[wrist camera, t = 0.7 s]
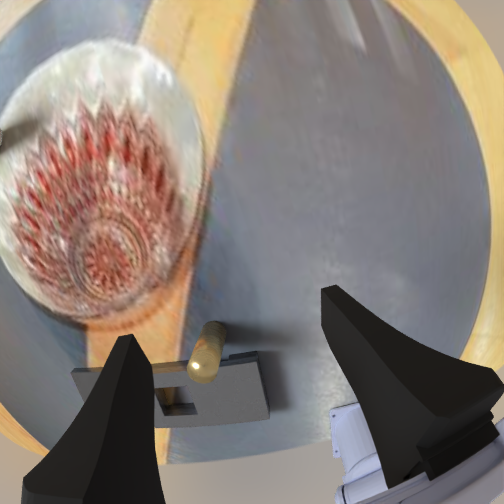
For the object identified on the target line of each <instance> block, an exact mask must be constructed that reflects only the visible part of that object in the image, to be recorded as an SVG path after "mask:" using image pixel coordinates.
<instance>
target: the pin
mask: <svg viewBox="0 0 504 504" xmlns="http://www.w3.org/2000/svg"><path fill="white" fill-rule="evenodd" d="M225 338H226V329H225V327H224V325H223V324H221V323H220V322H217V321H210V322H207V323H206V324H205V325H204V326H203V328H202V331H201V333H200V336H199V338H198V341H197V343H196V346H195V348H194V350H193V353H192V355H191V358H190V360H189V363H188V365H187V373H188V375H189V377H190V378H191V379H192V380H194V381H196V382H198V383H203V384H205V383H210V382H212V381H213V380H214V379H215V378H216V376H217V372H218V368H219V364H220V359H221V355H222V351H223V346H224V342H225Z"/></svg>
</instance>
